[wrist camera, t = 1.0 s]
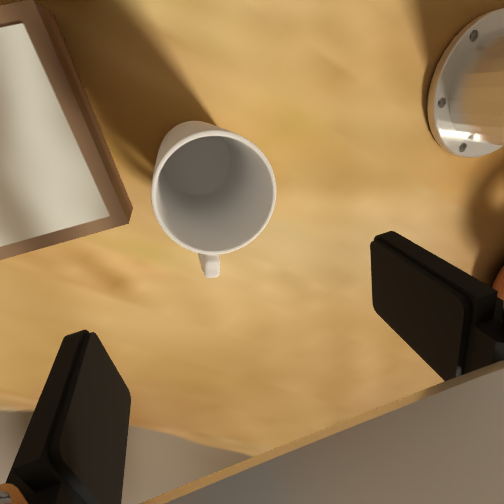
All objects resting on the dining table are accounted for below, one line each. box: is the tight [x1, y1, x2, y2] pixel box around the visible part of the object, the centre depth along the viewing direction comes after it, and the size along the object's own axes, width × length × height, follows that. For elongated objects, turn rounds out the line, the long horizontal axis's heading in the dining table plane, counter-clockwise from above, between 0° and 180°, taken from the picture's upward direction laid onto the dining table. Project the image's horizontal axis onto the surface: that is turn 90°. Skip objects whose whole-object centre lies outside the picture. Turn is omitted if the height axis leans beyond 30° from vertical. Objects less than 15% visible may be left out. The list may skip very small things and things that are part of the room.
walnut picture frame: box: [0, 0, 133, 260], centre depth 22 cm, size 12×14×4 cm
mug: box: [151, 121, 276, 278], centre depth 23 cm, size 10×7×12 cm, turn 175°
